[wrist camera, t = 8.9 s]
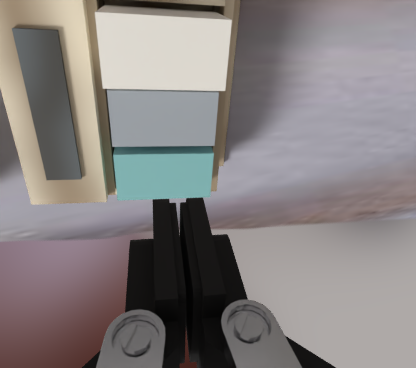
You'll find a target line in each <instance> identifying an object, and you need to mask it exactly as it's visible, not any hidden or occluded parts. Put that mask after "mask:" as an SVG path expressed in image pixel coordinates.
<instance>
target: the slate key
mask: <svg viewBox="0 0 416 368" xmlns="http://www.w3.org/2000/svg"><path fill="white" fill-rule="evenodd" d="M107 97H108V107H109V117H110V127H111V137H112V147H145V146H215V134H216V122H217V110H218V98H219V92H218V91H197V90H147V89H107Z"/></svg>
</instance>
